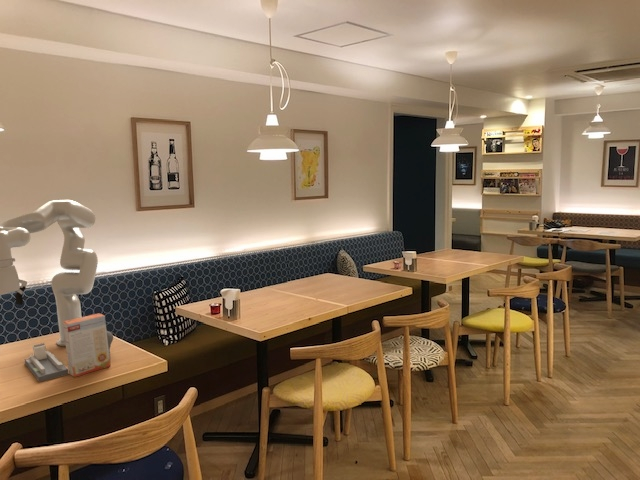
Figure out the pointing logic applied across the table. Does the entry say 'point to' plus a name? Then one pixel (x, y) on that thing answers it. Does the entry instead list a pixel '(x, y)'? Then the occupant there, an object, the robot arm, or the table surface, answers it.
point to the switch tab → (40, 351)
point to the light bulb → (109, 339)
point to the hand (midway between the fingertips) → (7, 307)
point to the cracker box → (86, 344)
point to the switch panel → (46, 367)
